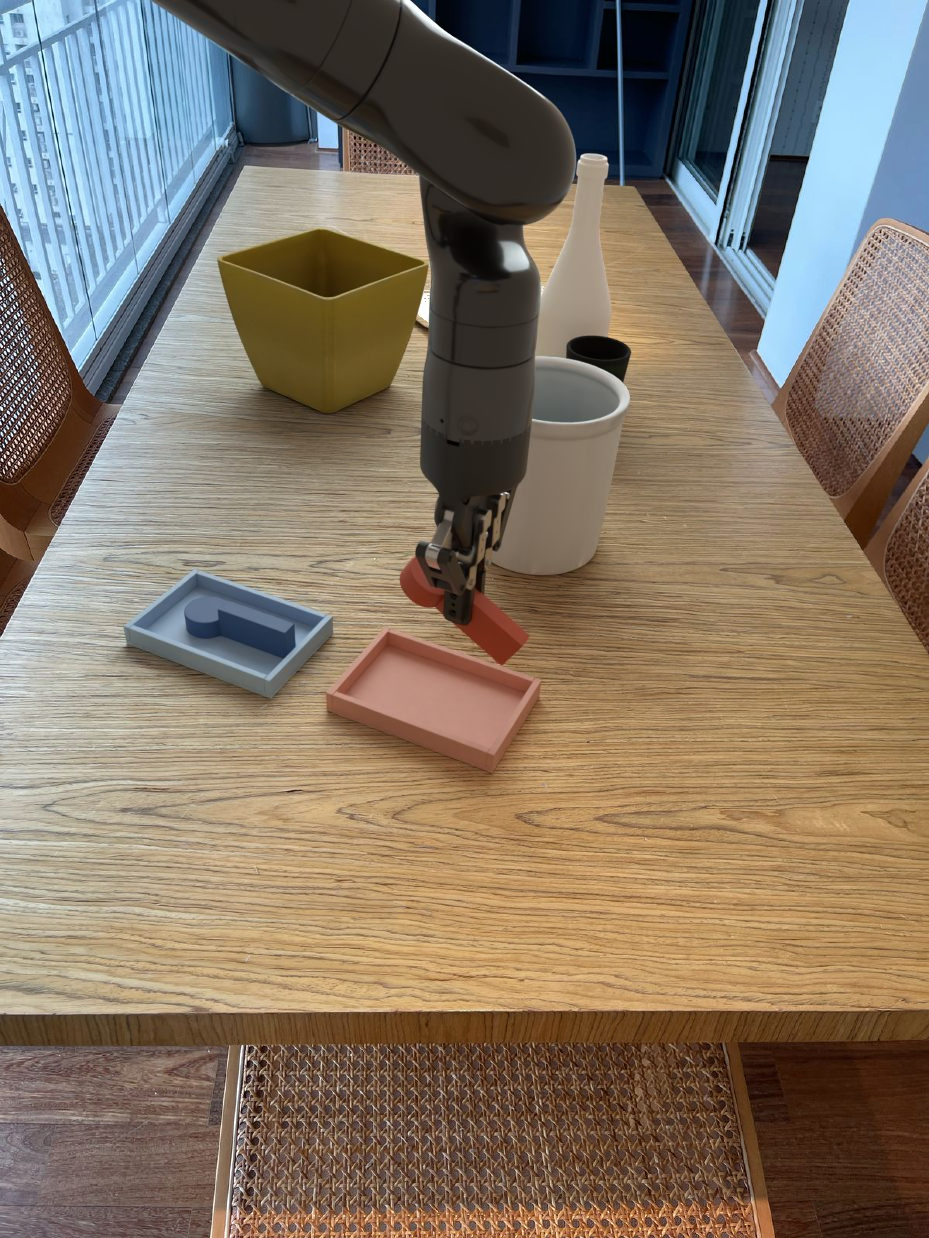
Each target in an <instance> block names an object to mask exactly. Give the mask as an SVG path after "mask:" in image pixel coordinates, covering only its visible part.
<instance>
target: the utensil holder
mask: <svg viewBox="0 0 929 1238" xmlns="http://www.w3.org/2000/svg"><path fill="white" fill-rule="evenodd" d="M535 374H536V385H535V397H534V406H533V415H532V425H531V434H530V443H529V453H528V462H527V471H526V474H525V477H524V478H523V480H522V481H521V482H520V483H519V484H518V487H517V489H516V493H515V496H514V500H513V503H512V507H511V510H510V514H509V517H508V521H507V524H506V528H505V531H504V535H503V538H502V543H501V547H500V548H499V550H498V551H497V552H495V551H492V563H491V564H495V566H499V567H500V568H503V569H506V570H508V571H511V572H515V573H519V574H524V575H531V576H554V575H561V574H566V573H569V572H572V571H575V570H578V569H580V568H581V567H583V566H585V565H586V564H588V563H589V562H590V561H591V560H592V558H593V557H594V556H595V554H596V551H597V549H598V545H599V542H600V538H601V533H602V529H603V525H604V522H605V521H604V520H605V517H606V511H607V506H608V503H609V496H610V492H611V487H612V482H613V477H614V471H615V467H616V462H617V456H618V449H619V445H620V441H621V437H622V430H623V425H624V420H625V419H626V417H627V415H628V413H629V409H630V404H631V394H630V391H629V389H628V388H627V386H626V384H624V382H623V383H622V382H621V381H620V380H619V379H618V378H616V377H615V376H614V375H612V374H610V373H608V372H607V371H605V370H603V369H600V368H598V367H596V366H593V365H590V364H587V363H584V362H580V361H576V360H571V359H565V358H558V357H545V356H535Z"/></svg>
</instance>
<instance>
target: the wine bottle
mask: <svg viewBox="0 0 929 1238" xmlns="http://www.w3.org/2000/svg"><path fill="white" fill-rule="evenodd" d="M609 166H610V164H609V163H608V157H607V156H605V155H603V154H599V153H583V154H581V155H580V158H579V159H578V161H577V163H576V172H575V174H576V176H577V182H576V188H575V196H574V203H573V210H572V216H571V224H570V228H569V230H568V234H567V237H566V238H565V241H564V244H563V246H562V248H561V250H560V253H559V255H558V257H557V259H556V261H555V264H554V266H553V268H552V271H551V273H550V275H549V277H548V278H547V281H546V283H545V284H546V286H545V288H544V290H543V293H542V295H541V301H540V313H539V323H538V332H537V342H536V350H535V356H545V357H558V358H565V359H566V345H567V343H568V342H569V341H570V340H571V339H573V338H576V337H580V336H588V335H593V336H604V337H609V333H610V327H611V320H612V314H613V312H612V302H611V295H610V291H609V284H608V279H607V274H606V273H607V272H606V267H605V261H604V256H603V251H602V244H601V235H600V233H601V232H600V225H601V217H602V207H603V198H604V189H605V180H606V179H607V178H608V174H609V173H608V172H609Z"/></svg>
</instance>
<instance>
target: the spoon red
mask: <svg viewBox="0 0 929 1238" xmlns="http://www.w3.org/2000/svg"><path fill="white" fill-rule="evenodd" d="M399 585H400V588H401V590H402V592H403V593H404V595H405V596H406V598H407V599H409V600H410V601H411V602H412V603H414V604H415V605H417V606H420V607H422V608H427V609H433V608H435V609H436V610H437V611H438V612H439V613H441V614H442V615H443V608H444V590H443V589H440V588H434V587H431V586H430V585H429V583H428V581H427V579H426V577H425V574H424V572H423V570H422V568H421V566H420V564H419V562H418V560H417V558H416V556H415V555H413V557H412V558H411V559H410V561H409V562H408V563H407V564H406V565H405V566H404V568H403V569H402V570H401V572H400V573H399ZM451 623H452V624H453V625H454V626H455V627H456V628H457V629H458V630H460V631H461V632H462V633H463V634H464V635H465V636H466V637H468V638H469V639H470V640H471V641H472V642H473V643H475V645H477V646H478V647H479V648H480V649H482V650H483V651H484V652H485V653H486V654H487V655H488V656H489V657H491V658H492V659H493V660H494V661H495V662H496V663H497V664H498V665H499V666H502V667H503V666H504V665H505V664H506V663H507V662H508V661H509V660H511V658H513V656H515V654H517V653H518V652H519V651H520V650H521V649H522V648H523V647H524V646H525V644H526V643H527V641H528V640H529V638H530V637H531V635H530V633H528V632H526V631H525V629H524V628H523V627H521V626H520V625H519V624H518V623H517V622H516V621H514V620H513V619H512V618H511V617H510V616H508V615H507V613H505V612H504V611H503V610H502V609H501V608H500V607H498V606H497V605H496V603H494V602H493V601H492V600H491V599H490V598H488V597H487V596H486V595H485V593H484V594H482V593H480V592H479V591H478V590H477V589H476V588H475V594H474V603H473V611H472V620H471V621H470V623H469V624H468V625H467V626H462V625H459V624H456V623H453V622H451Z"/></svg>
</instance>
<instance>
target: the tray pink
mask: <svg viewBox="0 0 929 1238" xmlns="http://www.w3.org/2000/svg"><path fill="white" fill-rule="evenodd" d="M542 680H543V679H540V678H537V677H534V676H531V675H529V674H525V673H522V672H519V671H516V670H514V669H510V668H508V667H504V666H503V665H502V666H501V665H500V664H496V663H493V662H490V661H487V660H484V659H481V658H478V657H475V656H472V655H469V654H467V653H463V652H461V651H459V650H455V649H452V648H449V647H446V646H443V645H441V644H438V643H434V642H431V641H429V640H425V639H423V638H420V637H417V636H415V635H411V634H408V633H405V632H402V631H401V630H400V631H399V630H396V629H393V628H390V627H387V626H384V627H383V628H382V629H381V630H380V631H379V633H378V634H377V635H376V636H375V637H374V639H372V640H371V641H370V643H369V644H368V645H367V646H366V647H365V648H364V649H363V650H362V652H361V653H359V655H358V656H357V657H356V658H355V660H354V661H353V662H352V663H350V665H349V666H348V667H347V669H346V670H345V671H344V672H343V673H342V674H341V675H340V676H339V677H338V679H337V680H336V681H335V682H334V683H333V685H331V686H330V688H329V689H328V690H327V691H326V692H325V701H326V711H327V712H330V713H332V714H335V715H337V716H340V717H343V718H345V719H348V720H350V721H354V722H356V723H359V724H361V725H364V726H367V727H369V728H371V729H375V730H378V731H380V732H381V733H385V734H388V735H391V736H392V737H395V738H398V739H401V740H403V741H407V742H408V743H412V744H413V745H417V746H419V747H422V748H425V749H427V750H430V751H432V752H435V753H439V754H440V755H443V756H446V757H449V758H452V759H454V760H456V761H459V762H462V763H465V764H467V765H469V766H473V767H475V768H478V769H480V770H483V771H484V772H485V771H486V772H488V773H491V774H492V773H494V772H495V770H496V768H497V767H498V764H499V763H500V762H501V760H502V758H503V757H504V755H505V753H506V752H507V751H508V748H509V747H510V745H511V744H512V742H513V740H514V739H515V737H516V736H517V734H518V732H519V731H520V729H521V728H522V726H523V724H524V723H525V721H526V719H527V718H528V716H529V714H530V713H531V711H532V709H533V708H534V706H535V705H536V703H537V702H538V700H539V698H540V695H541V694H540V693H541V688H542V687H541V686H542Z"/></svg>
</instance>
